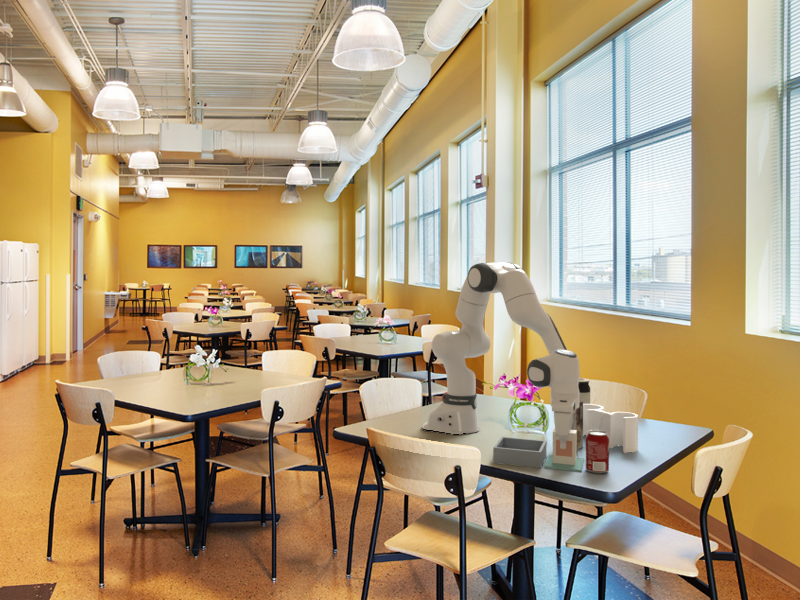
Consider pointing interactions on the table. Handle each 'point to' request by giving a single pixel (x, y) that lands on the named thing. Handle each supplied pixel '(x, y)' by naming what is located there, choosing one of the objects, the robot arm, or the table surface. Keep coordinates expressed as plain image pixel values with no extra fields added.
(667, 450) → the table surface
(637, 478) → the table surface
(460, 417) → the robot arm
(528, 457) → the parts bin
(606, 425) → the bracket
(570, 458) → the label box
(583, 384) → the travel mug
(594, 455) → the soda can
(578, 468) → the mat
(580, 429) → the coffee box
